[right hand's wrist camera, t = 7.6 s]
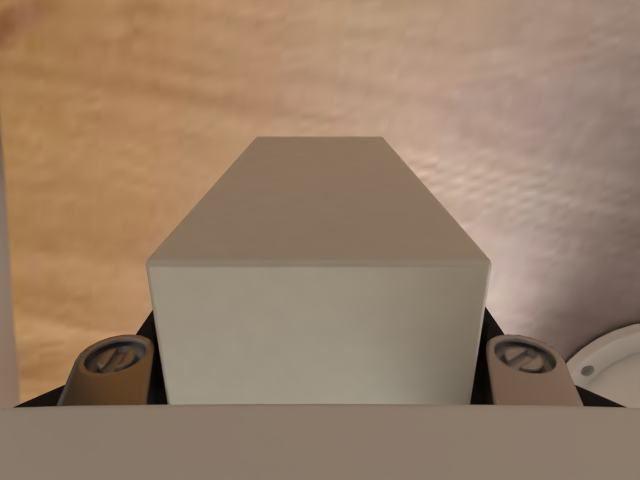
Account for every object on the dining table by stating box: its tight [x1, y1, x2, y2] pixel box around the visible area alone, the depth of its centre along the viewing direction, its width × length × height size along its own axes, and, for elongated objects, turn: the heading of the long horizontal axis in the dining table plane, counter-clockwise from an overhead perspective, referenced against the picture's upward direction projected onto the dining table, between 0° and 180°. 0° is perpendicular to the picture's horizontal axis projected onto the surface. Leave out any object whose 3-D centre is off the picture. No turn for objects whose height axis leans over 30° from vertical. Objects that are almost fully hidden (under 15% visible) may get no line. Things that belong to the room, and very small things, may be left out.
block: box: [146, 137, 491, 405], centre depth 12 cm, size 5×7×11 cm
